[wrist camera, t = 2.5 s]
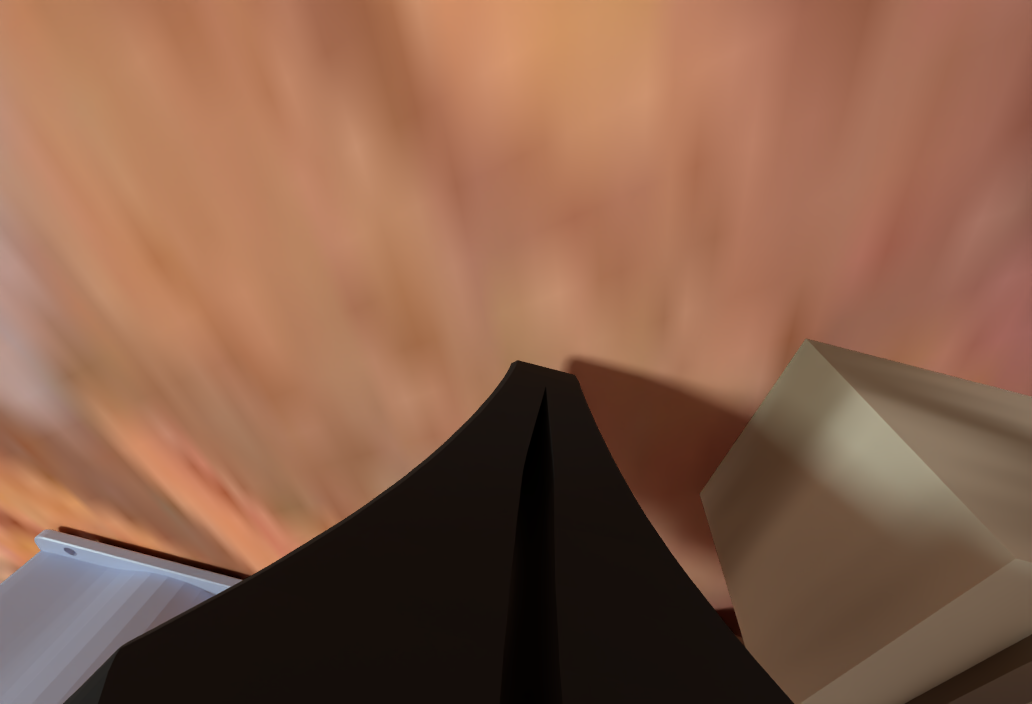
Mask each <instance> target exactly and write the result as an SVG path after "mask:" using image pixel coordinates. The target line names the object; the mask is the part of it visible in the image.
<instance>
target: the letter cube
mask: <svg viewBox="0 0 1032 704" xmlns="http://www.w3.org/2000/svg"><path fill="white" fill-rule="evenodd" d="M700 497H701V500H702V504H703V507H704V510H705V514H706V517H707V520H708V524H709V527H710V531H711V534H712V537H713V541H714V544H715V547H716V551H717V554H718V557H719V561H720V564H721V567H722V571H723V574H724V577H725V581H726V584H727V587H728V591H729V594H730V597H731V601H732V604H733V607H734V611H735V614H736V617H737V621H738V624H739V627H740V631H741V634H742V637H743V641H744V644H745V647H746V649H747V650H748V651H749V652H750V654H751V655H752V656H753V657H754V658H755V660H756V661H757V662H758V663H759V664H760V665H761V666H762V667H763V669H764V670H765V671H766V672H767V673H768V674H769V675H770V677H771V678H772V679H773V680H774V681H775V682H776V683H777V685H778V686H779V687H780V688H781V689H782V690H783V691H784V692H785V694H786V695H787V696H788V697H789V698H790V699H791V700H792V702H793V703H794V704H1032V397H1031V396H1027V395H1023V394H1019V393H1015V392H1012V391H1008V390H1004V389H1000V388H996V387H992V386H988V385H984V384H981V383H977V382H973V381H969V380H965V379H961V378H957V377H953V376H950V375H946V374H942V373H938V372H934V371H930V370H926V369H922V368H918V367H915V366H911V365H907V364H903V363H899V362H895V361H891V360H887V359H884V358H880V357H876V356H872V355H868V354H864V353H860V352H856V351H852V350H849V349H845V348H841V347H837V346H833V345H829V344H825V343H821V342H818V341H814V340H810V339H805V341H804V342H803V344H802V345H801V347H800V348H799V350H798V351H797V352H796V354H795V355H794V357H793V358H792V360H791V361H790V363H789V364H788V366H787V367H786V368H785V370H784V371H783V373H782V374H781V376H780V377H779V379H778V380H777V382H776V383H775V385H774V386H773V387H772V389H771V390H770V392H769V393H768V395H767V396H766V398H765V399H764V401H763V402H762V404H761V405H760V406H759V408H758V409H757V411H756V412H755V414H754V415H753V417H752V418H751V420H750V421H749V422H748V424H747V425H746V427H745V428H744V430H743V431H742V433H741V434H740V436H739V437H738V439H737V440H736V441H735V443H734V444H733V446H732V447H731V449H730V450H729V452H728V453H727V455H726V456H725V458H724V459H723V460H722V462H721V463H720V465H719V466H718V468H717V469H716V471H715V472H714V474H713V475H712V476H711V478H710V479H709V481H708V482H707V484H706V485H705V487H704V488H703V490H702V491H701V493H700Z"/></svg>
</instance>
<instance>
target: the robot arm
mask: <svg viewBox="0 0 1032 704" xmlns="http://www.w3.org/2000/svg"><path fill="white" fill-rule="evenodd" d="M35 543H36V544H37V546H38V547H39V549H40V550H41V551H40V552H39V553H37V554H36V555H35V556H34V557H33V558H31V559H30V560H29V561H28V562H27V563H25V564H24V565H23V566H22V567H20V568H19V569H18V570H17V571H16V572H14V573H13V574H12V575H11V576H10V577H8V578H7V579H6V580H5V581H3V582H2V583H1V584H0V704H794V703H793V702H792V700H791V699H790V698H789V697H788V696H787V695H786V694H785V692H784V691H783V690H782V689H781V688H780V687H779V686H778V685H777V683H776V682H775V681H774V680H773V679H772V678H771V677H770V675H769V674H768V673H767V672H766V671H765V670H764V669H763V667H762V666H761V665H760V664H759V663H758V662H757V661H756V660H755V658H754V657H753V656H752V655H751V654H750V652H749V651H748V650H747V649H746V648H745V646H744V645H743V644H742V643H741V642H740V640H739V639H738V638H737V637H736V636H735V634H734V633H733V632H732V631H731V630H730V628H729V627H728V626H727V625H726V624H725V622H724V621H723V620H722V619H721V617H720V616H719V615H718V613H717V612H716V611H715V610H714V608H713V607H712V606H711V605H710V603H709V602H708V601H707V599H706V598H705V597H704V596H703V594H702V593H701V592H700V590H699V589H698V588H697V587H696V585H695V584H694V583H693V582H692V580H691V579H690V578H689V576H688V575H687V574H686V572H685V571H684V570H683V568H682V567H681V566H680V564H679V563H678V562H677V560H676V559H675V557H674V556H673V555H672V553H671V552H670V551H669V549H668V548H667V546H666V545H665V543H664V542H663V540H662V539H661V537H660V536H659V534H658V533H657V531H656V530H655V528H654V527H653V526H652V524H651V523H650V521H649V520H648V518H647V517H646V515H645V513H644V512H643V510H642V509H641V507H640V505H639V504H638V502H637V500H636V499H635V497H634V495H633V494H632V492H631V490H630V488H629V487H628V485H627V483H626V481H625V480H624V478H623V476H622V474H621V473H620V471H619V469H618V467H617V465H616V463H615V461H614V459H613V458H612V456H611V454H610V452H609V450H608V448H607V446H606V443H605V441H604V439H603V437H602V435H601V433H600V431H599V429H598V427H597V425H596V423H595V420H594V418H593V416H592V414H591V411H590V409H589V407H588V404H587V402H586V399H585V397H584V394H583V392H582V389H581V387H580V384H579V381H578V380H577V378H576V376H575V375H573V374H569V373H565V372H561V371H557V370H553V369H549V368H546V367H542V366H538V365H534V364H530V363H526V362H522V361H519V360H518V361H516V362H513V363H511V366H510V368H509V370H508V372H507V373H506V375H505V377H504V378H503V379H502V381H501V382H500V384H499V385H498V386H497V388H496V389H495V390H494V391H493V393H492V394H491V395H490V396H489V397H488V399H487V400H486V401H485V402H484V403H483V404H482V405H481V407H480V408H479V409H478V410H477V411H476V412H475V413H474V414H473V415H472V416H471V418H470V419H469V420H468V421H467V422H466V423H464V424H463V425H462V426H461V427H460V428H459V429H458V430H457V431H456V432H455V433H454V434H453V435H452V436H451V437H450V438H449V439H448V440H447V441H446V442H445V443H444V444H443V445H442V446H440V447H439V448H438V449H437V450H436V451H435V452H434V453H432V454H431V455H430V456H429V457H428V458H427V459H425V460H424V461H423V462H422V463H421V464H419V465H418V466H417V467H416V468H414V469H413V470H412V471H411V472H409V473H408V474H407V475H406V476H404V477H403V478H402V479H400V480H399V481H398V482H396V483H395V484H394V485H392V486H391V487H389V488H388V489H387V490H385V491H384V492H383V493H381V494H380V495H378V496H377V497H376V498H374V499H373V500H372V501H370V502H369V503H367V504H366V505H364V506H363V507H362V508H360V509H359V510H357V511H356V512H354V513H353V514H351V515H350V516H348V517H347V518H345V519H344V520H342V521H341V522H339V523H337V524H336V525H334V526H333V527H331V528H329V529H328V530H326V531H324V532H323V533H321V534H320V535H318V536H316V537H315V538H313V539H312V540H310V541H308V542H307V543H305V544H303V545H302V546H300V547H299V548H297V549H295V550H294V551H292V552H290V553H289V554H287V555H286V556H284V557H282V558H281V559H279V560H277V561H276V562H274V563H272V564H271V565H269V566H267V567H265V568H264V569H262V570H260V571H259V572H257V573H255V574H253V575H252V576H250V577H248V578H246V579H244V580H241V579H238V578H234V577H230V576H226V575H222V574H219V573H215V572H211V571H207V570H203V569H200V568H196V567H192V566H188V565H184V564H181V563H177V562H173V561H169V560H165V559H162V558H158V557H154V556H150V555H146V554H143V553H139V552H135V551H131V550H127V549H124V548H120V547H116V546H112V545H108V544H105V543H101V542H97V541H93V540H89V539H86V538H82V537H78V536H74V535H70V534H67V533H63V532H59V531H55V530H50V529H48V530H44V531H42V532H41V533H40V534H39V535H37V536H36V537H35Z"/></svg>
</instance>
